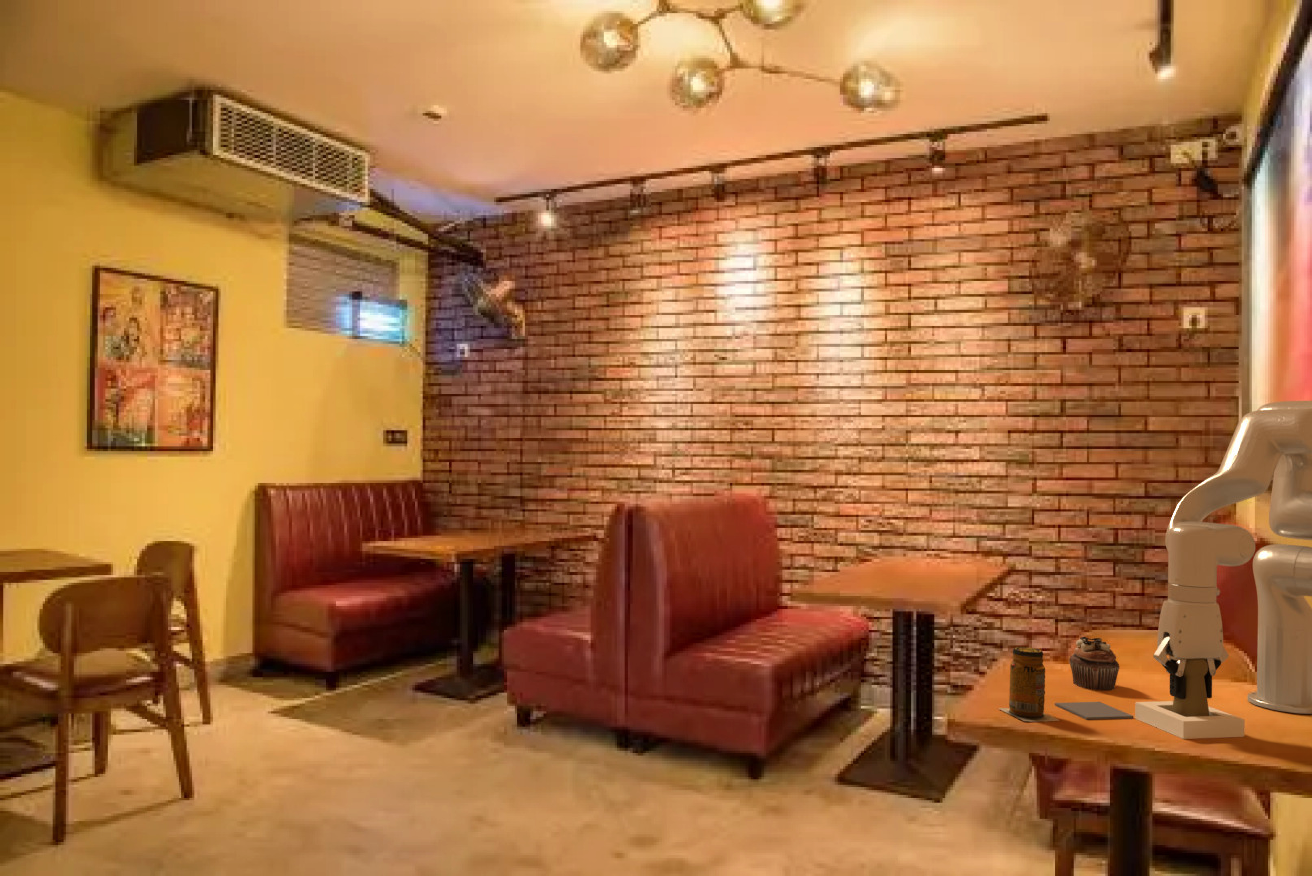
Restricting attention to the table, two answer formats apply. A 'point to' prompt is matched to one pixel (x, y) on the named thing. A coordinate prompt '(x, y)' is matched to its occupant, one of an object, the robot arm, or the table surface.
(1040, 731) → the table surface
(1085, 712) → the coaster
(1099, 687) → the cupcake
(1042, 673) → the condiment
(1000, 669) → the table surface
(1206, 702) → the cork
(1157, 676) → the table surface
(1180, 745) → the table surface
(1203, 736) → the holder
